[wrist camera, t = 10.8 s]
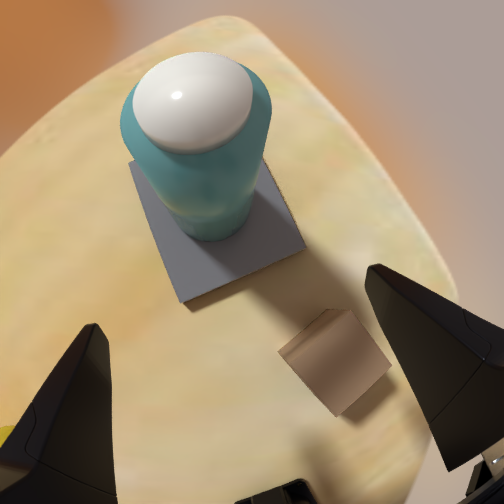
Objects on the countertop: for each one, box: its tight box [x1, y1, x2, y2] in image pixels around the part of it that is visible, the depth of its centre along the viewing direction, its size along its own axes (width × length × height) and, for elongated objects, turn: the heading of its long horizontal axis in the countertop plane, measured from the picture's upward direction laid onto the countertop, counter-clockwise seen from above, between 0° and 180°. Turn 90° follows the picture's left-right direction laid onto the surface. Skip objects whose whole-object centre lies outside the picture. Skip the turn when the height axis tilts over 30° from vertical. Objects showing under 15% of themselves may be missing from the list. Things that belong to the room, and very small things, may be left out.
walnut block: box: [277, 309, 392, 417], centre depth 20 cm, size 5×5×5 cm
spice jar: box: [120, 52, 272, 242], centre depth 16 cm, size 6×6×13 cm
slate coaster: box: [128, 159, 306, 303], centre depth 23 cm, size 12×10×1 cm
